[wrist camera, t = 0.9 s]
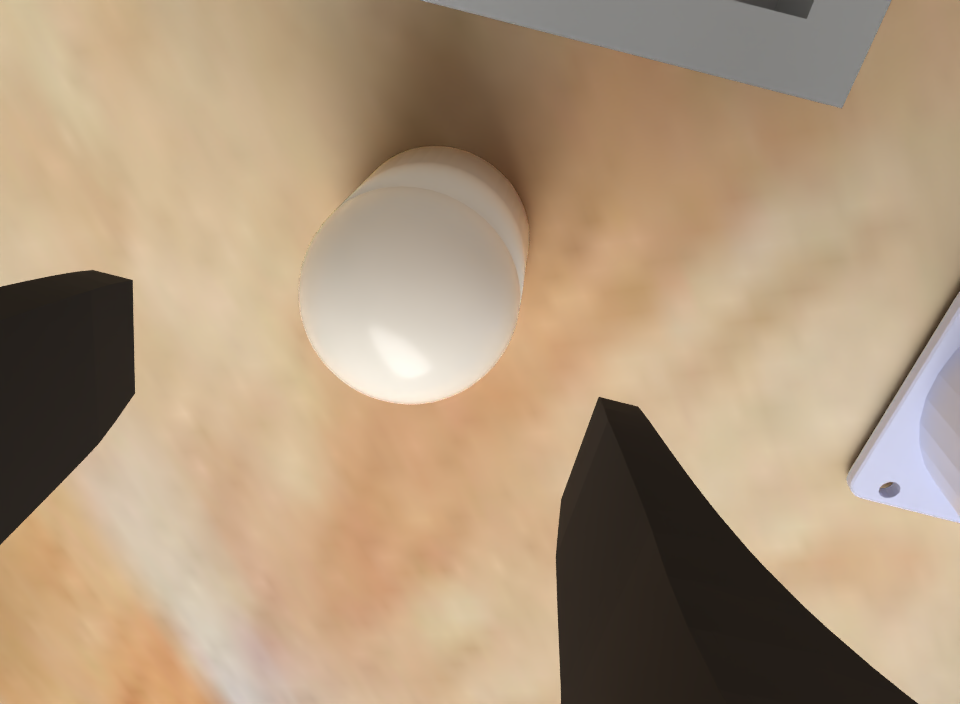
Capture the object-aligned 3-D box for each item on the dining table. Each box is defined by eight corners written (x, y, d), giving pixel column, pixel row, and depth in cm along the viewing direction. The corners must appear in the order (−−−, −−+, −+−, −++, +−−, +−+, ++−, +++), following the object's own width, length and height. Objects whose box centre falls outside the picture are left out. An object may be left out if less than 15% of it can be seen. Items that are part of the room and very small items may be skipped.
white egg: (550, 172, 16) (542, 261, 11) (505, 335, 18) (481, 473, 13) (366, 124, 16) (272, 193, 11) (342, 294, 18) (254, 416, 13)
